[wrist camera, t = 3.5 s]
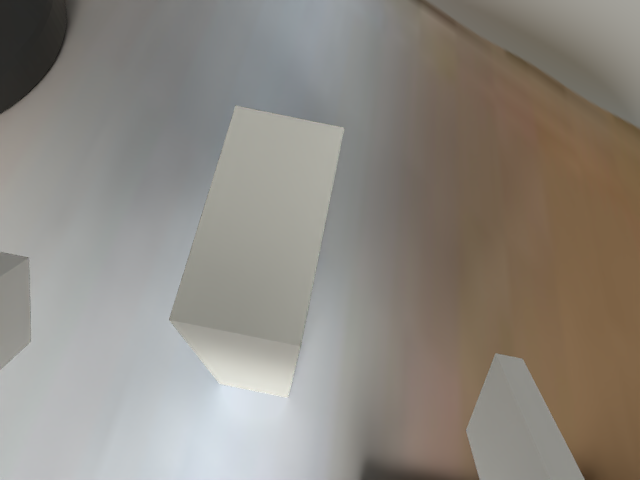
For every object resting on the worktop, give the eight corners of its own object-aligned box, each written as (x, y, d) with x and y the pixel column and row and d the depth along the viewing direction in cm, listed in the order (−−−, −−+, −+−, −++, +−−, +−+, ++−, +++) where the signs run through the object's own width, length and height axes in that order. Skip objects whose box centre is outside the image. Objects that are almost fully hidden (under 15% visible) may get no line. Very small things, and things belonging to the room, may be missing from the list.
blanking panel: (252, 256, 24) (235, 105, 14) (314, 269, 24) (344, 128, 14) (219, 384, 22) (168, 320, 11) (288, 397, 22) (300, 346, 11)
